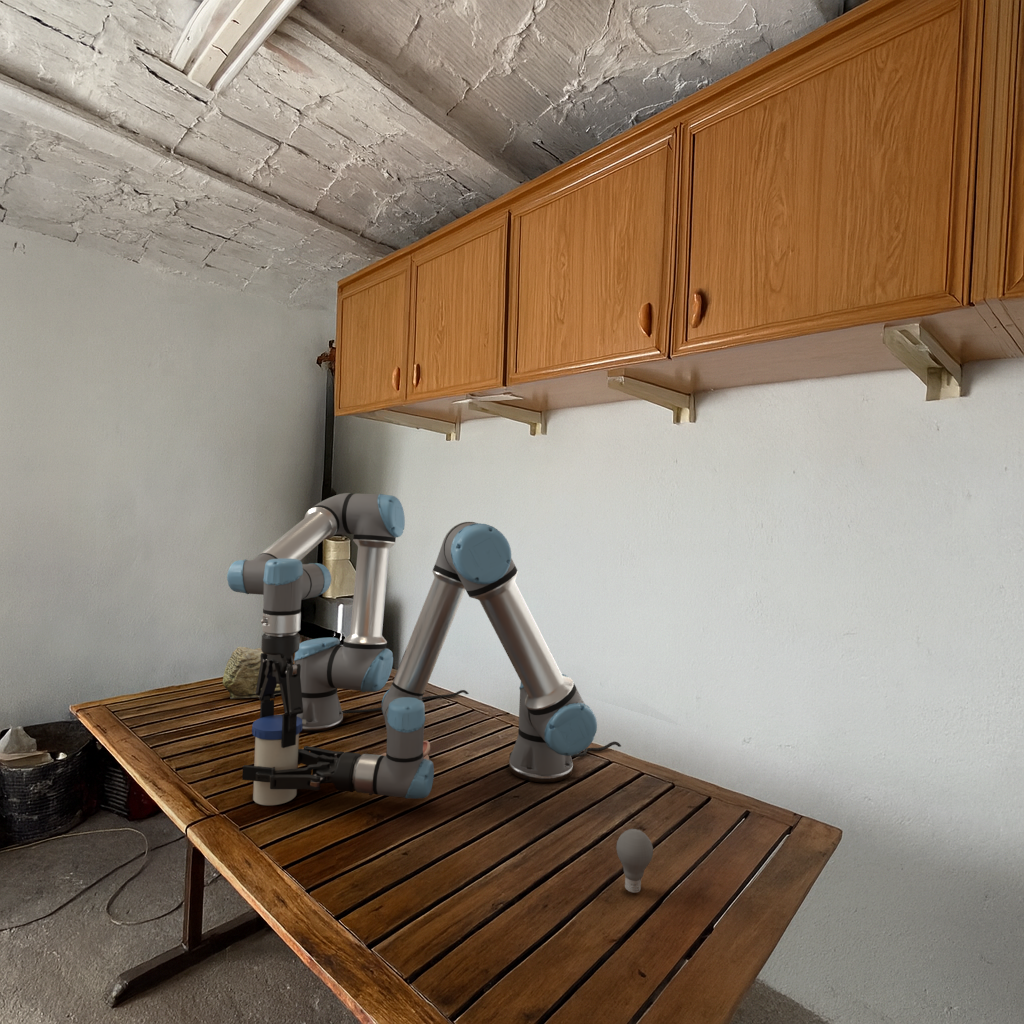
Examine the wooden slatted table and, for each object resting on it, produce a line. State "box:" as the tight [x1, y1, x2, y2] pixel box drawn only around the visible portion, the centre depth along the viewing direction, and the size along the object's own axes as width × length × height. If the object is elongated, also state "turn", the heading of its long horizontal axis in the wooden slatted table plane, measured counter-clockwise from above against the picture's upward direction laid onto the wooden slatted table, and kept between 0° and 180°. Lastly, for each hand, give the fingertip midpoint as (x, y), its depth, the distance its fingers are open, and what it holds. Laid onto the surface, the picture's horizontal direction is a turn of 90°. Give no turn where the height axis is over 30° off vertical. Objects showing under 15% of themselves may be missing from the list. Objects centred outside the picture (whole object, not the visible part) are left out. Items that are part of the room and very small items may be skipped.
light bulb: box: [615, 828, 654, 894], centre depth 106 cm, size 6×6×10 cm
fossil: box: [222, 646, 281, 699], centre depth 198 cm, size 9×18×15 cm, turn 132°
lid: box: [251, 714, 303, 740], centre depth 133 cm, size 10×10×2 cm
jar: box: [252, 733, 300, 806], centre depth 133 cm, size 9×9×15 cm
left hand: (277, 738), depth 133 cm, fingers closed on lid, 10 cm apart
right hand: (255, 762), depth 134 cm, fingers closed on jar, 9 cm apart
